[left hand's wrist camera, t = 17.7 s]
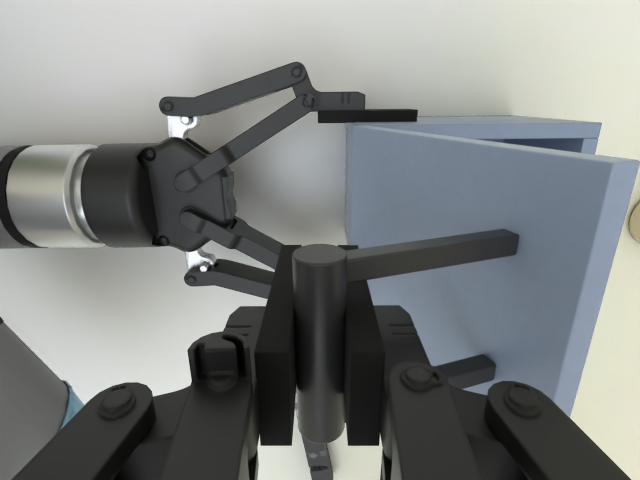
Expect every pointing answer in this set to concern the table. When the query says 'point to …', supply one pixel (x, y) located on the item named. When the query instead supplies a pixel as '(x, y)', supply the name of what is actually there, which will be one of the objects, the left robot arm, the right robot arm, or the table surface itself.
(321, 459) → the pillar
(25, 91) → the table surface
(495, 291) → the lid
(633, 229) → the candle
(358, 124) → the chest
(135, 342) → the table surface
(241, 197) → the table surface
